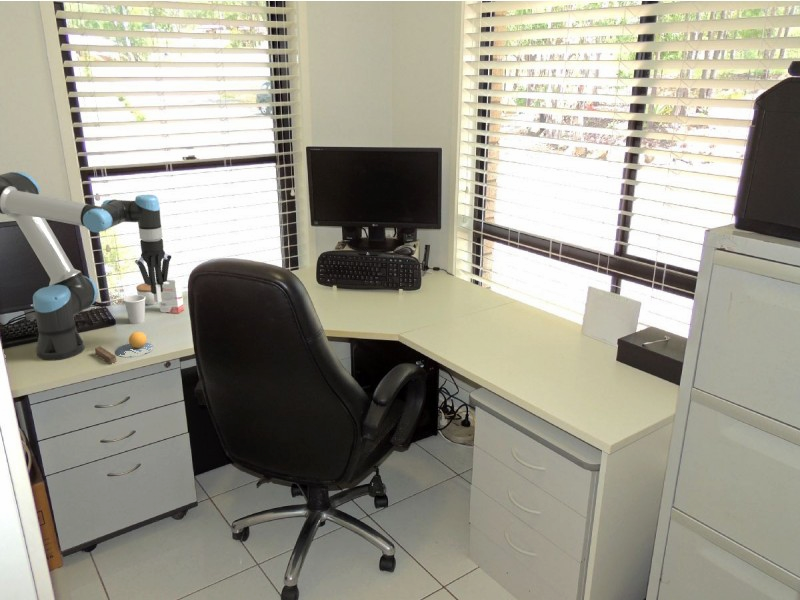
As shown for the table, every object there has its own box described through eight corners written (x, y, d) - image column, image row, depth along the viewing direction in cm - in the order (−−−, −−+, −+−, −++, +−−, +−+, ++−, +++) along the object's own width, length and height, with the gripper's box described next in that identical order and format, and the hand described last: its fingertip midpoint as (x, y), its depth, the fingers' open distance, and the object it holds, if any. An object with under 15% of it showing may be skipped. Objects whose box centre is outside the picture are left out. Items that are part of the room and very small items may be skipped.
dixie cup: (123, 320, 254) (120, 297, 250) (144, 316, 259) (142, 293, 255) (129, 326, 248) (126, 303, 244) (151, 322, 252) (148, 299, 249)
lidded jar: (164, 297, 281) (161, 277, 278) (164, 305, 271) (162, 284, 268) (138, 299, 277) (136, 279, 274) (138, 307, 268) (135, 287, 265)
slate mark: (125, 360, 218) (125, 360, 218) (108, 349, 226) (108, 349, 226) (160, 349, 228) (160, 349, 227) (143, 339, 236) (143, 339, 236)
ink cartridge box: (184, 309, 267) (181, 277, 262) (178, 313, 262) (175, 280, 257) (166, 308, 268) (162, 275, 263) (160, 312, 263) (156, 279, 258)
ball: (150, 337, 227) (141, 352, 226) (148, 335, 233) (139, 349, 232) (136, 329, 225) (126, 344, 224) (133, 327, 230) (124, 341, 229)
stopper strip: (110, 364, 215) (110, 357, 214) (95, 354, 223) (94, 347, 222) (116, 362, 216) (115, 356, 216) (101, 352, 224) (100, 346, 223)
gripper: (163, 234, 228) (169, 294, 236) (128, 240, 219) (136, 302, 227) (173, 237, 224) (179, 299, 232) (138, 244, 215) (146, 307, 222)
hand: (158, 301), depth 229 cm, fingers closed
